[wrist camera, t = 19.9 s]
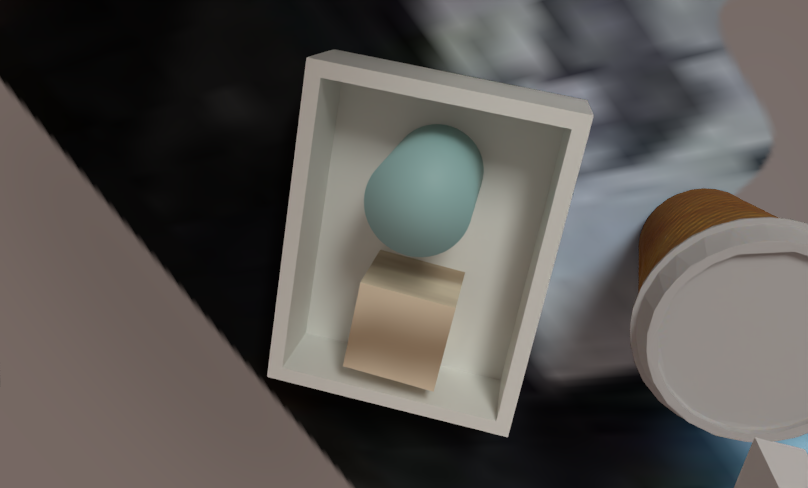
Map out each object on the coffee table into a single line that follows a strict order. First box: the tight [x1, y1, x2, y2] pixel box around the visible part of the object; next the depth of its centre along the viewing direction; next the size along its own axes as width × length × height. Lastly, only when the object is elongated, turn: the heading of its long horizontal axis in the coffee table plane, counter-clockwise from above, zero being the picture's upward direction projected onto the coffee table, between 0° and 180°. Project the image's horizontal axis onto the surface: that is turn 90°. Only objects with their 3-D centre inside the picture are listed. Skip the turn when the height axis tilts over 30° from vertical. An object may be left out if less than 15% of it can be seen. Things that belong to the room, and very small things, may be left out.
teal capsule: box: [364, 124, 484, 257], centre depth 37 cm, size 5×5×7 cm
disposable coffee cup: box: [630, 189, 808, 442], centre depth 34 cm, size 10×10×12 cm
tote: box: [267, 49, 594, 437], centre depth 39 cm, size 18×14×5 cm
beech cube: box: [343, 250, 465, 392], centre depth 40 cm, size 5×5×5 cm
